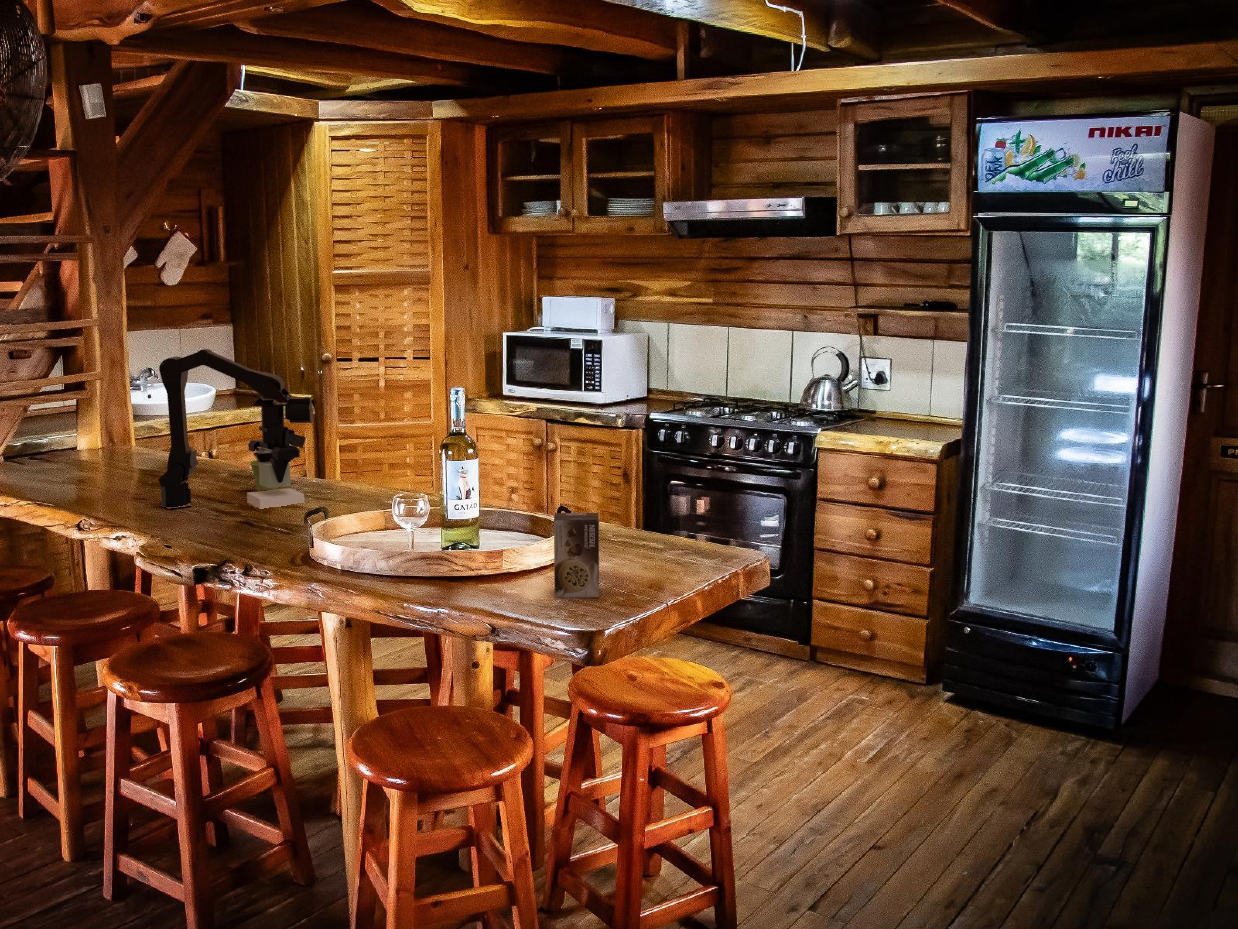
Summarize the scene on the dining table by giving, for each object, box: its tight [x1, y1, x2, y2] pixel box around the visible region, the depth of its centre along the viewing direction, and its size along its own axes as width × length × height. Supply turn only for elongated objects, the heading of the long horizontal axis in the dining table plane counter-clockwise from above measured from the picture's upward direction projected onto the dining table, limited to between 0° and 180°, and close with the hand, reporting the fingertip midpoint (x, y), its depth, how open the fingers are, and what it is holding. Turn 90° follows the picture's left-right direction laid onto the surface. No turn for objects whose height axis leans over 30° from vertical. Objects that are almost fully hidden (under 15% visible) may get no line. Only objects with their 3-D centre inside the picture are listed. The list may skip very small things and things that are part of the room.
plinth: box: [246, 487, 305, 509], centre depth 319 cm, size 12×10×4 cm
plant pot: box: [249, 459, 280, 490], centre depth 337 cm, size 9×9×9 cm
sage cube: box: [259, 461, 291, 488], centre depth 318 cm, size 6×6×6 cm
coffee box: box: [553, 512, 600, 599], centre depth 239 cm, size 9×6×16 cm
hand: (274, 480), depth 318 cm, fingers closed on sage cube, 6 cm apart
